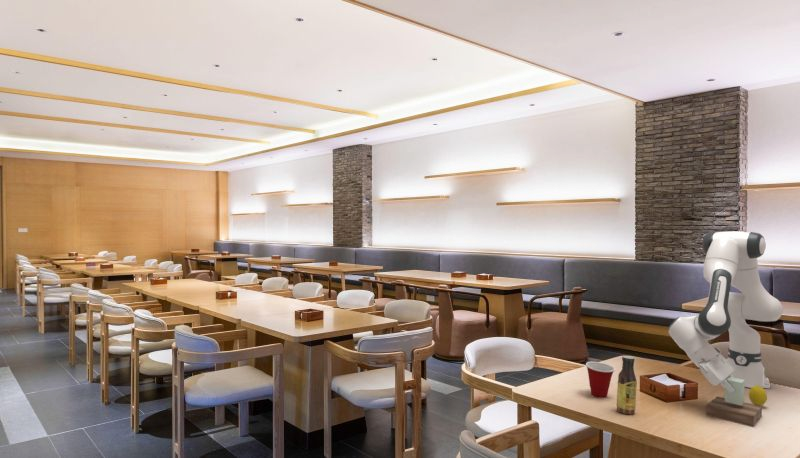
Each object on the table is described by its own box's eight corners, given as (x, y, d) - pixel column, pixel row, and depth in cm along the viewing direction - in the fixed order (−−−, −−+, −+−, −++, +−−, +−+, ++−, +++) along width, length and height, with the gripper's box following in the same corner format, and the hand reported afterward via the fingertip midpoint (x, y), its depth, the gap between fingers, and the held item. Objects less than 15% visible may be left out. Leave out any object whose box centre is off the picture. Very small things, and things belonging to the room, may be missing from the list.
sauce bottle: (627, 416, 177) (629, 360, 177) (612, 410, 183) (614, 356, 183) (639, 413, 180) (641, 358, 180) (624, 407, 186) (626, 354, 186)
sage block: (727, 398, 184) (728, 376, 184) (744, 402, 180) (744, 379, 180) (724, 401, 180) (725, 379, 180) (741, 405, 177) (741, 382, 177)
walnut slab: (716, 406, 190) (717, 396, 190) (761, 417, 180) (761, 406, 180) (706, 416, 181) (706, 405, 180) (753, 428, 171) (753, 416, 171)
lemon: (769, 409, 187) (770, 388, 187) (752, 408, 188) (753, 387, 188) (762, 404, 193) (762, 383, 192) (745, 403, 194) (746, 382, 194)
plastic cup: (604, 402, 191) (605, 371, 191) (579, 394, 200) (580, 364, 200) (619, 397, 198) (620, 366, 197) (595, 389, 206) (595, 360, 206)
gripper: (704, 357, 178) (736, 391, 171) (719, 347, 193) (748, 379, 186) (690, 367, 181) (720, 401, 175) (705, 356, 196) (734, 388, 189)
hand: (735, 389), depth 180 cm, fingers closed on sage block, 5 cm apart
